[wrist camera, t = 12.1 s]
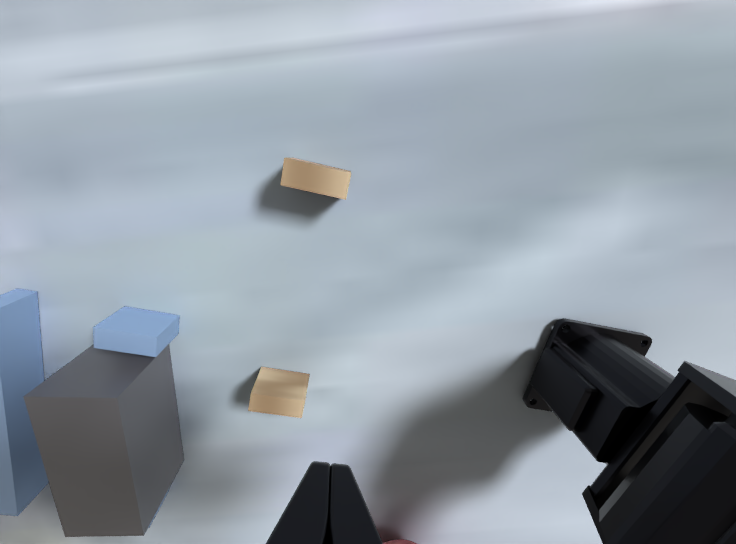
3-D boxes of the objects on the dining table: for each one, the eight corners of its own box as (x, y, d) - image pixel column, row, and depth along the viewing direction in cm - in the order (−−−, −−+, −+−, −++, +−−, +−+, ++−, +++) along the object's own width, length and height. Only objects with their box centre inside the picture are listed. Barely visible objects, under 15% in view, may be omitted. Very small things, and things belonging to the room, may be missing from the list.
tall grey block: (170, 342, 20) (117, 398, 16) (185, 458, 23) (143, 535, 18) (99, 340, 20) (23, 396, 15) (123, 458, 23) (65, 536, 18)
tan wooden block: (350, 171, 18) (351, 173, 15) (306, 389, 22) (301, 418, 19) (292, 157, 17) (284, 157, 15) (258, 382, 21) (248, 410, 19)
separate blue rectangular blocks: (179, 315, 20) (156, 337, 17) (168, 490, 24) (149, 527, 21) (17, 288, 19) (-32, 307, 16) (35, 477, 23) (-1, 514, 20)
